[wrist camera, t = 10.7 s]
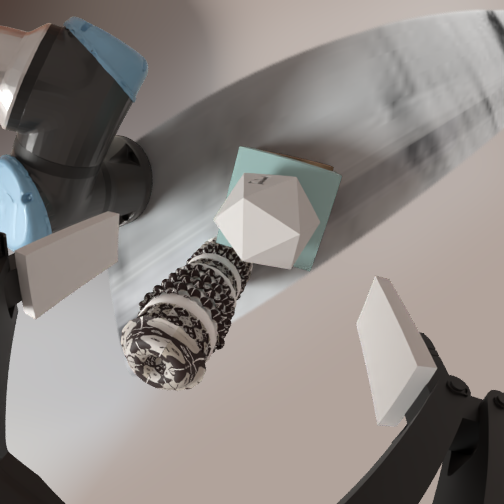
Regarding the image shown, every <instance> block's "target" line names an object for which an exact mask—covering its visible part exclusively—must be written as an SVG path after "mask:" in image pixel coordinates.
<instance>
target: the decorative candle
mask: <svg viewBox="0 0 504 504" xmlns="http://www.w3.org/2000/svg"><path fill="white" fill-rule="evenodd" d="M216 240H217V236H216V237H214V238H211V239H209V240H208V241H206V242H205V244H203V245H202V246H201V248H199V249H198V250H197V251H196V252H195V253H194V254H193V255H192V256H191V258H189V259H188V260H187V265H185V266H183V267H181V268H177V270H176V272H175V273H171V274H169V279H164V280H163V281H162V283H161V286H160V285H156V286H155V287H154V288H153V292H151V293H147V294H146V295H145V297H144V300H145V301H141V302H140V303H139V308H140V310H141V311H140V312H139V313H138V317H137V318H136V319H133V320H130V321H129V322H128V324H127V325H126V326H125V327H124V328H123V330H122V337H121V345H122V348H123V351H124V354H125V357H126V358H127V361H128V364H129V366H130V367H131V369H132V370H133V371H134V373H135V374H136V375H137V376H138V377H139V378H141V379H142V380H143V381H144V382H145V383H147V384H149V385H151V386H153V387H155V388H159V389H164V390H177V391H178V390H185V389H191V388H193V387H194V386H196V385H197V384H199V383H200V382H201V381H202V379H203V376H204V374H205V371H206V367H205V362H207V361H208V360H209V358H210V356H211V354H212V353H214V352H215V350H216V349H217V350H219V349H221V348H223V346H224V344H225V343H224V342H225V341H224V338H225V336H226V334H227V333H228V331H229V328H230V326H231V321H230V320H231V319H232V317H233V315H234V313H235V307H236V300H238V299H239V298H240V294H241V293H242V292H243V291H244V288H245V286H246V283H247V282H248V280H249V277H250V275H251V271H252V268H253V263H250V262H245V261H242V260H241V259H240V257H239V256H238V254H237V253H236V252H235V250H234V249H233V248H232V247H229V246H225V245H222V244H219V243H216ZM155 296H156V297H155ZM154 297H155V298H154ZM216 336H217V337H216ZM217 339H218V340H217ZM215 346H217V347H215Z"/></svg>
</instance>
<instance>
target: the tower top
mask: <svg viewBox="0 0 504 504" xmlns="http://www.w3.org/2000/svg"><path fill="white" fill-rule="evenodd" d="M244 173H256V174H270V175H282V176H293V177H297V179H298V181H299V182H300V184H301V186H302V188H303V190H304V192H305V194H306V195H307V197H308V199H309V201H310V203H311V205H312V207H313V209H314V211H315V213H316V215H317V217H318V219H319V221H320V224H319V225H318V227H317V228H316V230H315V232H314V233H313V235H312V236H311V238H310V240H309V241H308V243H307V245H306V246H305V248H304V249H303V251H302V252H301V254H300V256H299V257H298V259H297V260H296V262H295V264H294V265H293V266H294V267H297V268H300V269H303V270H307V271H310V270H311V268H312V265H313V262H314V259H315V256H316V254H317V251H318V248H319V245H320V242H321V239H322V236H323V233H324V230H325V227H326V224H327V221H328V218H329V215H330V212H331V209H332V206H333V203H334V200H335V197H336V194H337V191H338V187H339V184H340V181H341V178H342V176H341V175H339V174H338V173H336V172H333V171H330V170H327V169H324V168H321V167H317V166H314V165H311V164H308V163H305V162H301V161H298V160H295V159H291V158H288V157H284V156H281V155H277V154H274V153H270V152H266V151H262V150H259V149H255V148H251V147H243V146H239V150H238V154H237V158H236V162H235V166H234V170H233V173H232V177H231V181H230V185H229V189H228V194H227V197H228V196H229V194H230V193H231V191H232V190H233V188H234V187H235V185H236V184H237V182H238V181H239V179H240V178H241V176H242V175H243V174H244ZM226 199H227V198H226ZM216 243H219V244H222V245H225V246H229V247H232V246H231V245H230V243H229V242H228V240H227V239H226V237H225V236H224V235H223V233H222V232H221V230H220V229H219V231H218V235H217V240H216ZM232 248H233V247H232Z"/></svg>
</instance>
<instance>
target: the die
mask: <svg viewBox="0 0 504 504" xmlns="http://www.w3.org/2000/svg"><path fill="white" fill-rule="evenodd" d="M213 220H214V222H215V223H216V225H217V226H218V228H219V229H220V230H221V232H222V233H223V235H224V236H225V237H226V239H227V240H228V242H229V243H230V245H231V246H232V247H233V249H234V250H235V252H236V253H237V254H238V256H239V257H240V259H241V260H242V261H245V262H250V263H256V264H261V265H267V266H273V267H279V268H284V269H290V270H291V268H292V267H293V265H294V264H295V262H296V260H297V259H298V257H299V256H300V254H301V252H302V251H303V249H304V248H305V246H306V245H307V243H308V241H309V240H310V238H311V236H312V235H313V233H314V232H315V230H316V228H317V227H318V225H319V224H320V221H319V219H318V217H317V215H316V213H315V211H314V209H313V207H312V205H311V203H310V201H309V199H308V197H307V195H306V194H305V192H304V190H303V188H302V186H301V184H300V182H299V181H298V179H297V177H293V176H282V175H270V174H256V173H244V174H243V175H242V176H241V178H240V179H239V181H238V182H237V184H236V185H235V187H234V188H233V190H232V191H231V193H230V194H229V196H228V197H227V199H226V200H225V202H224V203H223V205H222V207H221V208H220V210H219V211H218V213H217V214H216V216H215V217H214V219H213Z"/></svg>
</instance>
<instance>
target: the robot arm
mask: <svg viewBox="0 0 504 504" xmlns="http://www.w3.org/2000/svg"><path fill="white" fill-rule="evenodd" d="M147 73H148V65H147V62H146V60H145V58H144V57H142V55H140V54H139V53H138V52H136V51H135V50H134V49H132V48H131V47H130V46H128V45H127V44H125V43H124V42H122V41H121V40H119V39H117V38H116V37H114V36H113V35H111V34H109V33H107V32H106V31H104V30H102V29H100V28H98V27H96V26H93V25H92V24H90V23H88V22H86V21H84V20H83V19H80V18H78V17H71V18H69V19H68V20H67V21H65V22H64V27H60V26H57V25H54V24H51V23H47V24H45V25H43V26H41V27H39V28H37V29H35V30H33V31H30V32H25V31H21V30H18V29H14V28H9V27H5V26H1V25H0V123H1V126H2V128H3V129H6V130H10V131H15V132H17V135H16V138H15V141H14V145H13V148H12V151H11V154H10V155H7V154H6V155H3V156H1V157H0V504H65V503H64V502H63V501H62V500H61V499H60V498H59V497H58V496H57V495H56V494H55V493H54V492H53V491H52V490H51V489H50V488H49V487H48V485H47V484H46V483H45V482H44V481H43V480H42V479H41V478H40V477H39V476H38V475H37V474H36V473H34V472H33V471H32V470H30V469H29V468H28V467H26V466H25V465H24V464H22V463H21V462H20V461H19V460H18V459H16V458H15V457H14V456H13V455H12V454H10V453H9V452H8V450H7V446H6V439H5V414H6V392H7V380H8V370H9V362H10V354H11V347H12V341H13V335H14V330H15V324H16V319H17V314H18V308H17V303H19V302H20V301H22V303H23V308H24V312H25V313H26V314H27V315H29V316H31V317H32V318H34V319H37V318H38V317H40V316H41V315H42V314H44V313H45V312H46V311H48V310H49V309H51V308H52V307H53V306H55V305H56V304H57V303H59V302H60V301H61V300H63V299H64V298H65V297H67V296H68V295H70V294H71V293H73V292H74V291H75V290H77V289H78V288H80V287H81V286H82V285H84V284H86V283H87V282H88V281H90V280H91V279H93V278H94V277H96V276H97V275H99V274H100V273H102V272H103V271H105V270H106V269H108V268H109V267H111V266H112V265H114V264H115V263H117V262H118V231H119V227H121V226H123V225H125V224H128V223H130V222H132V221H133V220H135V219H136V218H137V217H138V216H139V215H140V214H141V213H142V212H143V210H144V209H145V207H146V205H147V203H148V201H149V198H150V195H151V190H152V172H151V167H150V164H149V161H148V159H147V156H146V155H145V153H144V151H143V150H142V149H141V147H140V146H139V145H138V144H137V143H136V142H134V141H133V140H131V139H129V138H127V137H124V136H119V135H116V133H117V131H118V129H119V127H120V125H121V123H122V121H123V119H124V118H125V116H126V114H127V112H128V110H129V108H130V107H131V105H132V103H133V102H135V100H136V95H137V93H138V91H139V89H140V87H141V85H142V83H143V81H144V80H145V78H146V76H147ZM8 248H9V249H10V250H12V251H13V252H15V253H14V254H12V255H9V256H8ZM356 325H357V329H358V333H359V337H360V342H361V346H362V350H363V355H364V359H365V364H366V368H367V373H368V377H369V382H370V387H371V392H372V398H373V403H374V408H375V414H376V420H377V425H380V426H397V425H398V423H399V422H400V421H401V420H402V419H403V417H404V416H405V417H406V421H407V425H406V426H405V427H404V429H403V430H402V431H401V432H400V433H399V435H398V436H397V437H396V438H395V439H394V440H393V442H392V444H391V445H390V447H389V448H388V449H387V450H386V451H385V453H384V454H383V455H382V456H381V458H380V459H379V460H378V461H377V462H376V463H375V464H374V466H373V467H372V468H371V469H370V470H369V471H368V473H367V474H366V475H365V476H364V477H363V478H362V479H361V480H360V481H359V482H358V483H357V484H356V486H354V487H353V488H352V489H351V490H350V492H348V494H346V495H345V496H344V497H343V498H342V499H341V500H340V501H339V502H338V503H337V504H418V503H419V502H420V500H421V499H422V497H423V495H424V494H425V492H426V490H427V489H428V487H429V485H430V484H431V482H432V480H433V478H434V477H435V475H436V473H437V471H438V469H439V467H440V466H441V463H442V462H443V463H442V469H441V472H440V477H439V481H438V485H437V489H436V492H435V496H434V500H433V503H432V504H504V393H502V392H500V391H497V390H491V391H490V392H489V393H488V394H487V395H486V397H485V398H484V399H483V400H482V399H478V398H475V397H472V396H471V392H470V390H469V387H468V386H467V385H466V384H465V382H463V381H462V380H461V379H459V378H457V377H455V376H451V375H449V374H448V372H447V370H446V368H445V366H444V365H443V362H442V361H441V359H440V357H439V355H438V353H437V351H436V350H435V347H434V345H433V343H432V342H431V340H430V339H429V338H428V337H427V336H426V335H424V333H420V332H419V331H418V329H417V327H416V325H415V323H414V322H413V320H412V318H411V316H410V314H409V313H408V311H407V309H406V307H405V305H404V304H403V302H402V300H401V298H400V297H399V295H398V293H397V291H396V290H395V288H394V287H393V285H392V283H391V281H390V280H389V279H387V278H383V277H379V276H375V277H374V281H373V283H372V286H371V288H370V291H369V294H368V296H367V299H366V301H365V304H364V307H363V309H362V311H361V314H360V316H359V319H358V321H357V324H356Z"/></svg>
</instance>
